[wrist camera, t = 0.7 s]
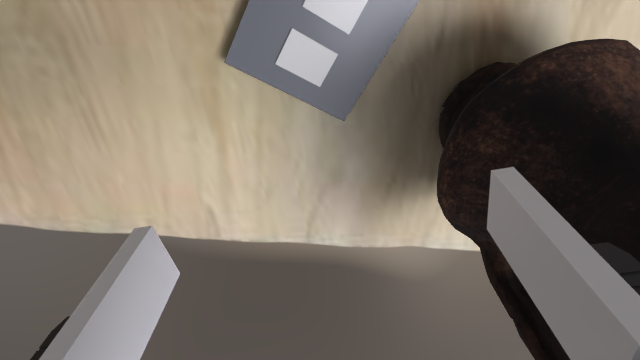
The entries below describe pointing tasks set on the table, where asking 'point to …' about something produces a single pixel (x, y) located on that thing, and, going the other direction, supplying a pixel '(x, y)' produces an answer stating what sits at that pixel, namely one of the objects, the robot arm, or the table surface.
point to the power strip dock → (317, 46)
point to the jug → (547, 156)
